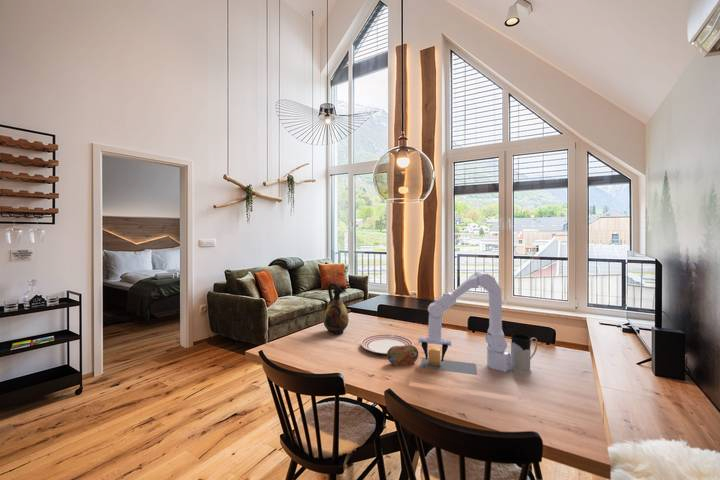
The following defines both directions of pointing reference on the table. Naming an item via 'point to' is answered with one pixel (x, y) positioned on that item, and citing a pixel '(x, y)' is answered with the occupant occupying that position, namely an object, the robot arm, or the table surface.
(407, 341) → the dinner plate
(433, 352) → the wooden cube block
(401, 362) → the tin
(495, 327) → the robot arm
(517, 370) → the grey mug
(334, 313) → the ceramic jug
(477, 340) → the table surface
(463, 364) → the mat
